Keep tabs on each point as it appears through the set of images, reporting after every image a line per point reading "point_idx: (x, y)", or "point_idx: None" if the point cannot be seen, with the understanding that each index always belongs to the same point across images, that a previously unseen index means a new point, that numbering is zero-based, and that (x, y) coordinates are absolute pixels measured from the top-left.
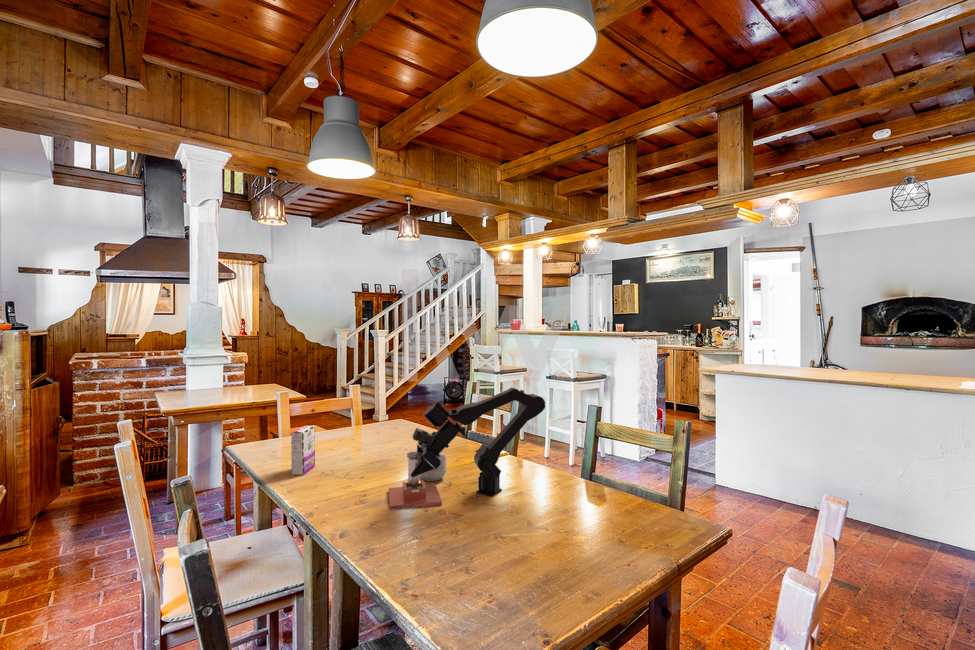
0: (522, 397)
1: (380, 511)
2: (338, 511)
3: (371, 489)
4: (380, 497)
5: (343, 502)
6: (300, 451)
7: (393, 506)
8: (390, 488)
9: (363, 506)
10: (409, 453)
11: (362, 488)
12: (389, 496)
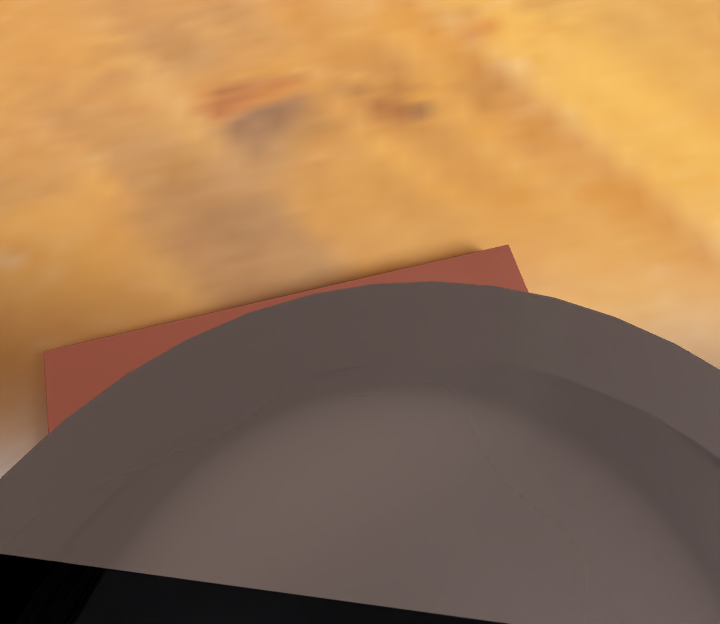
0: None
1: (44, 289)
2: (96, 27)
3: (524, 127)
4: (358, 225)
5: (257, 19)
6: None
7: (49, 383)
8: (497, 263)
9: (170, 148)
10: (510, 414)
11: (534, 68)
12: (290, 296)
